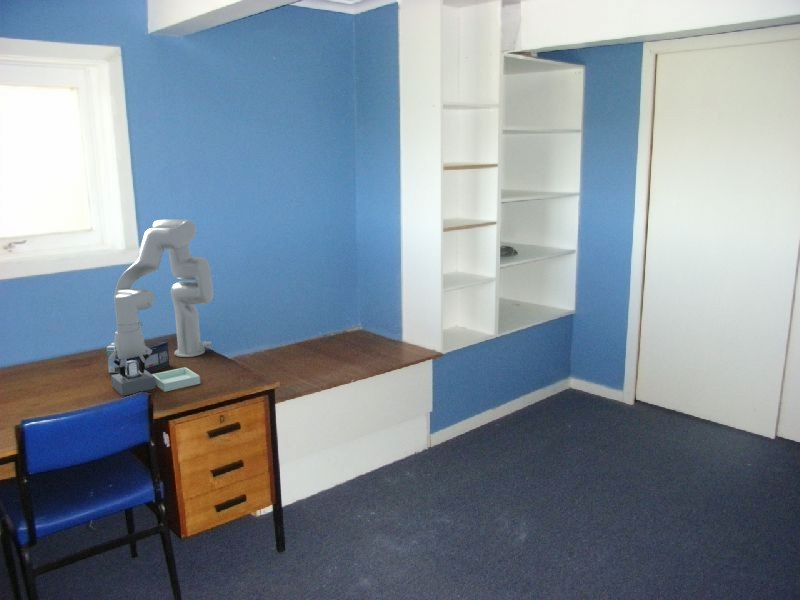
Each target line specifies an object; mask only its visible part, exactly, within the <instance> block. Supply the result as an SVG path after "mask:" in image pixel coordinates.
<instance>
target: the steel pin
mask: <svg viewBox="0 0 800 600" xmlns="http://www.w3.org/2000/svg"><path fill="white" fill-rule="evenodd" d="M126 371H127V379H133V378H137V377H139V374H138V364H137V361H136V360H131V361H127V362H126Z"/></svg>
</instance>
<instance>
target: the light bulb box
mask: <svg viewBox="0 0 800 600" xmlns="http://www.w3.org/2000/svg"><path fill="white" fill-rule="evenodd" d="M113 352H114V342H111V343H110V344H109V345H108V346H106V357H107V366H108V367H107V368H108V373H109V374H110V373H111V374H112V373H114V374H115V373H116V374H120V373H119V366H118V365H117V364H115V363H114V362H112V361H111V360H109V356H110V355H111V354H112V353H113ZM114 359H116V360H117V361H118V360H119V358H118V357H116V356H115V357H114ZM126 362H127V359H125V361H124V364H123V366H124V367H125V372H127V371H126Z"/></svg>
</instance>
